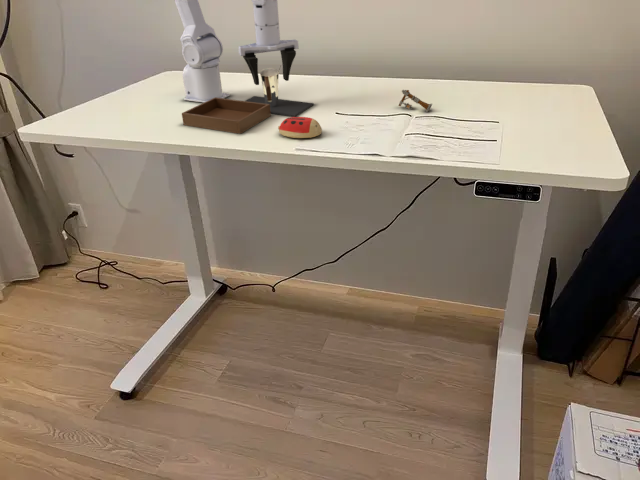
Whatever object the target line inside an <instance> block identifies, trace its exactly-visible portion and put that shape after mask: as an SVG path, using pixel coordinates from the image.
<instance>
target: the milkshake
mask: <svg viewBox="0 0 640 480" xmlns="http://www.w3.org/2000/svg"><path fill="white" fill-rule="evenodd" d="M281 67H282V65H280V66H279V69H276V68H274V67H269V68H268V67H266V68H262V70H261V71H260V73H259V75H260V80H261V86H262V90H263V91H262V92H263V97H265V104H270V107H275V106H278V99H279V80H280V79H279V76H280V75H279V72H280V70H281Z"/></svg>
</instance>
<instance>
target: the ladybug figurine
mask: <svg viewBox="0 0 640 480" xmlns="http://www.w3.org/2000/svg"><path fill="white" fill-rule="evenodd" d="M277 130H278V133H279V134H280V135H281V136H283V137H286V138H292V139H311V138H315V137H318V136H320V135H321V134H322V133H323V129H322V126H321V124H320V123H319V122H318V120H316V119H314V118H312V117H308V116H307V117H306V116H296V117H292V116H289V117H286V118H285V119H284V120H282V121H281V123H280V125H278V126H277Z"/></svg>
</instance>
